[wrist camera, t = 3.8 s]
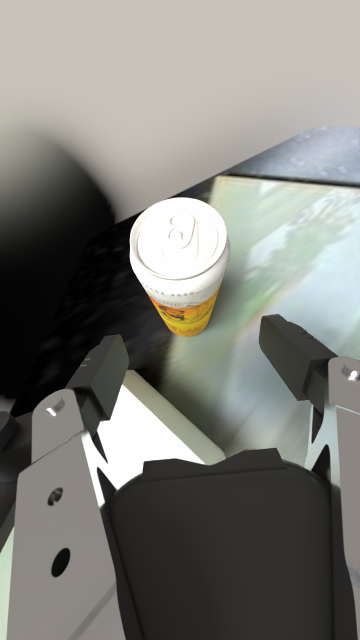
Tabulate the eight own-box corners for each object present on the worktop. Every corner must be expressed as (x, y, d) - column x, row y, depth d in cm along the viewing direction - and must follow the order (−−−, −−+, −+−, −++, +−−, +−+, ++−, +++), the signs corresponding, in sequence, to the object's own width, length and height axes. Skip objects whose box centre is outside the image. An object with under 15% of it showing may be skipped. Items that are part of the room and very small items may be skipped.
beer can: (161, 334, 23) (109, 278, 9) (169, 293, 25) (137, 189, 10) (205, 341, 22) (228, 292, 8) (211, 298, 24) (239, 195, 10)
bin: (133, 369, 22) (107, 370, 15) (223, 451, 19) (240, 497, 12) (26, 500, 19) (-65, 572, 12) (112, 623, 16) (52, 812, 9)
